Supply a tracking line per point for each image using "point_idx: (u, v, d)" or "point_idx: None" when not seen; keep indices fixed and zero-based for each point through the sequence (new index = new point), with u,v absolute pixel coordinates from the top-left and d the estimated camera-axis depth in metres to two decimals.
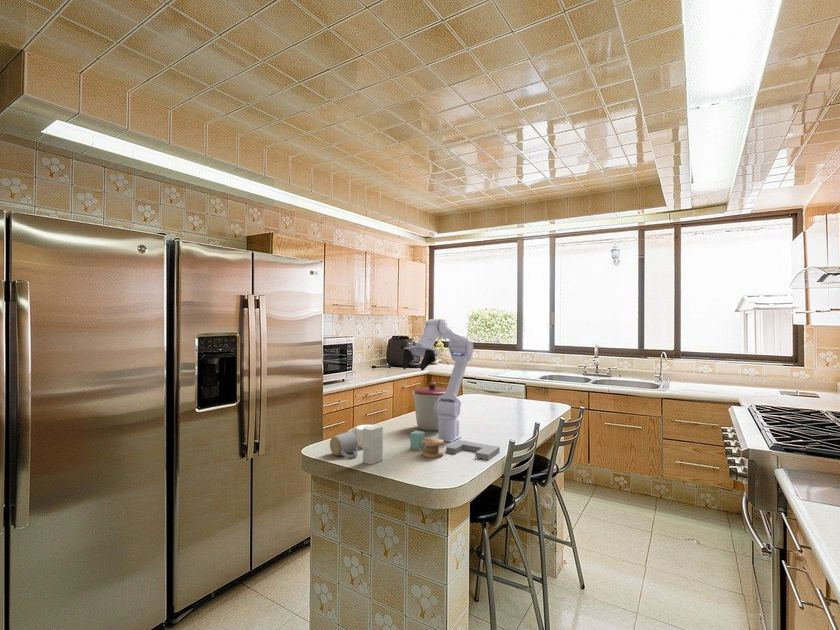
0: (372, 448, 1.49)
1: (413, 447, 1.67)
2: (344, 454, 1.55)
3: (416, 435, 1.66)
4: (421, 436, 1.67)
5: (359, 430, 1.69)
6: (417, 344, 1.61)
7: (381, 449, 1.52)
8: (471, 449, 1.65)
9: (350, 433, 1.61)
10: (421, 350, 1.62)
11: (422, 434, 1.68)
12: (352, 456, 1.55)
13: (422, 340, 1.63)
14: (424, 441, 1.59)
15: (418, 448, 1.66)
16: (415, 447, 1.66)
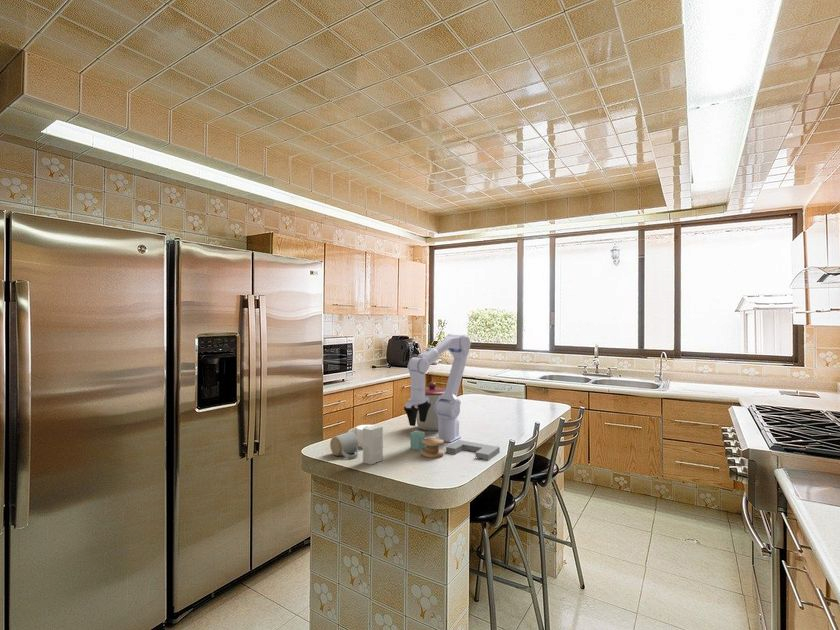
0: (372, 448, 1.49)
1: (413, 447, 1.67)
2: (345, 454, 1.55)
3: (416, 435, 1.66)
4: (421, 436, 1.67)
5: (359, 430, 1.69)
6: None
7: (381, 449, 1.52)
8: (471, 449, 1.65)
9: (351, 433, 1.61)
10: None
11: (422, 434, 1.68)
12: (353, 456, 1.55)
13: None
14: (424, 441, 1.59)
15: (418, 448, 1.66)
16: (415, 447, 1.66)
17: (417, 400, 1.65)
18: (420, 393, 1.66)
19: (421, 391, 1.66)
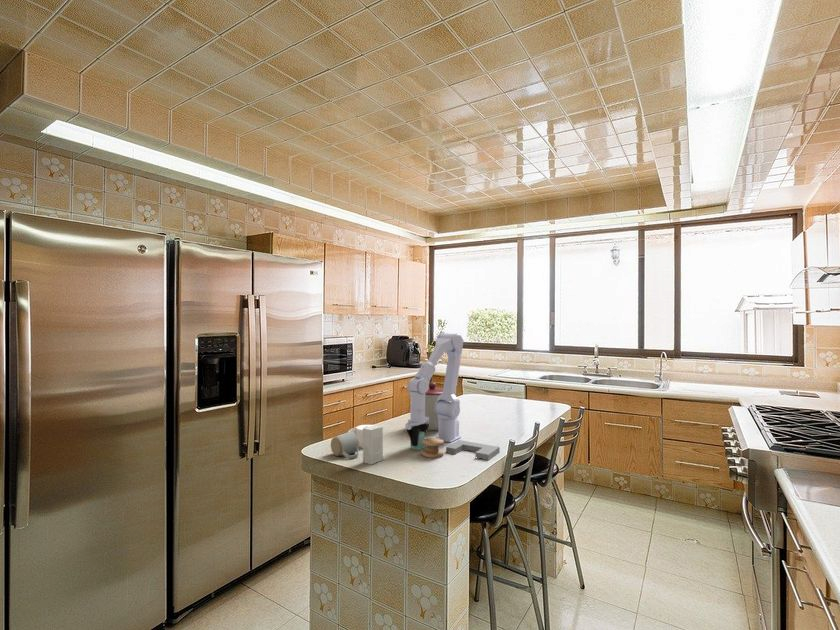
0: (372, 448, 1.49)
1: (413, 447, 1.67)
2: (345, 454, 1.54)
3: None
4: (421, 436, 1.67)
5: (359, 430, 1.69)
6: None
7: (381, 449, 1.52)
8: (471, 449, 1.65)
9: (351, 433, 1.61)
10: None
11: (422, 434, 1.68)
12: (353, 456, 1.55)
13: None
14: (424, 441, 1.59)
15: (418, 448, 1.66)
16: (415, 447, 1.66)
17: (417, 421, 1.65)
18: (420, 414, 1.66)
19: (421, 412, 1.66)
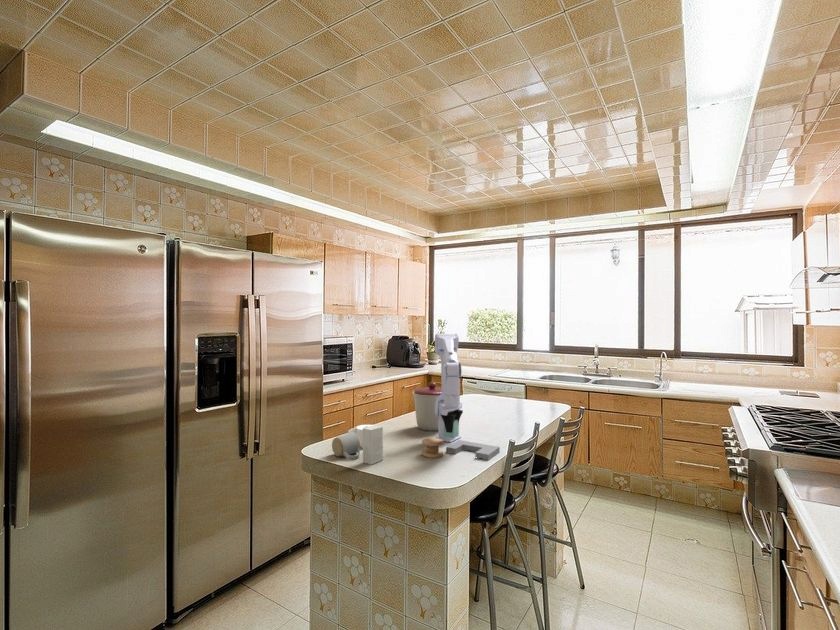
0: (372, 448, 1.49)
1: (447, 435, 1.61)
2: (346, 455, 1.54)
3: None
4: (455, 424, 1.61)
5: (359, 430, 1.69)
6: None
7: (381, 449, 1.52)
8: (471, 449, 1.65)
9: (352, 434, 1.60)
10: None
11: (456, 422, 1.62)
12: (354, 457, 1.54)
13: None
14: (424, 441, 1.59)
15: (452, 436, 1.60)
16: (449, 435, 1.60)
17: (452, 407, 1.59)
18: (455, 399, 1.59)
19: (456, 397, 1.60)
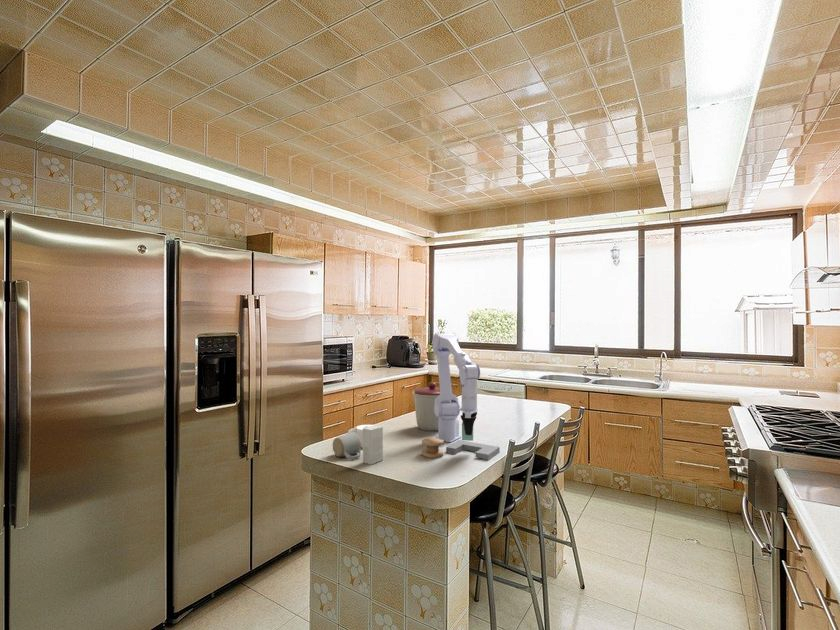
0: (372, 448, 1.49)
1: (465, 438, 1.59)
2: (347, 455, 1.53)
3: None
4: None
5: (359, 430, 1.69)
6: None
7: (381, 449, 1.52)
8: (471, 449, 1.65)
9: (353, 434, 1.60)
10: None
11: None
12: (355, 457, 1.54)
13: None
14: (424, 441, 1.59)
15: (471, 439, 1.59)
16: (468, 438, 1.59)
17: (472, 409, 1.59)
18: (475, 401, 1.59)
19: (475, 399, 1.60)
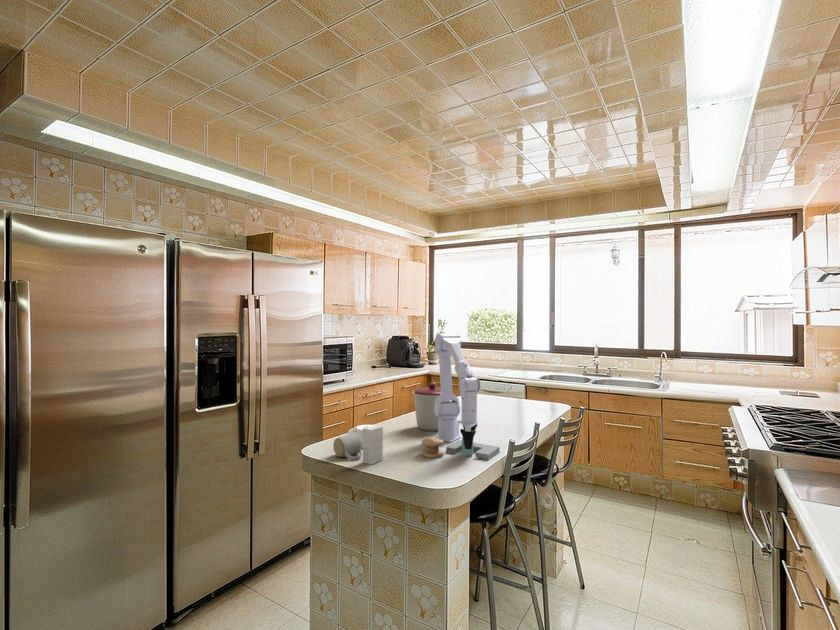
0: (372, 448, 1.49)
1: (465, 453, 1.59)
2: (348, 456, 1.53)
3: None
4: None
5: (359, 430, 1.69)
6: None
7: (381, 449, 1.52)
8: None
9: (354, 434, 1.59)
10: None
11: (473, 439, 1.61)
12: (356, 458, 1.53)
13: (461, 414, 1.62)
14: (424, 441, 1.59)
15: (471, 454, 1.59)
16: (468, 453, 1.59)
17: (472, 422, 1.59)
18: (474, 414, 1.59)
19: (475, 412, 1.60)
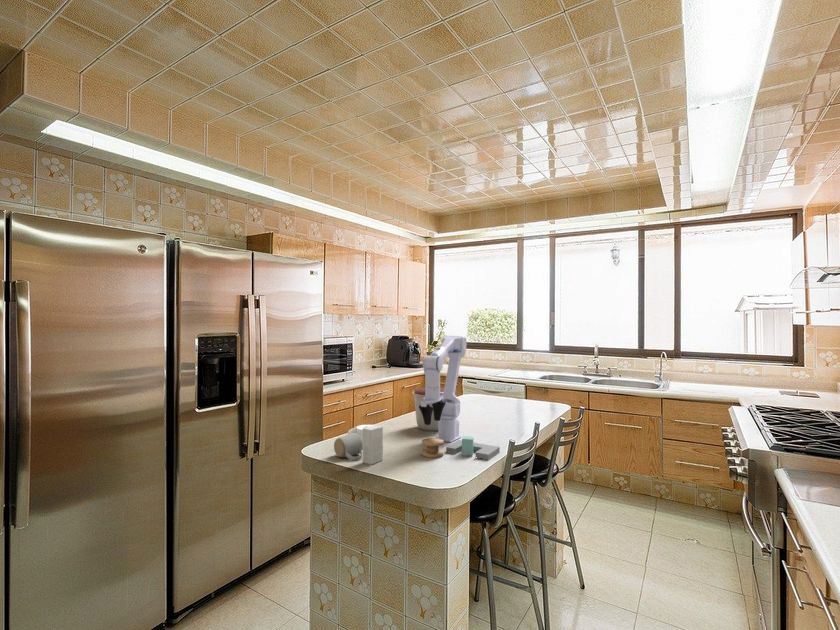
0: (372, 448, 1.49)
1: (465, 453, 1.59)
2: (348, 456, 1.53)
3: (469, 440, 1.59)
4: None
5: (359, 430, 1.69)
6: None
7: (381, 449, 1.52)
8: None
9: (354, 435, 1.59)
10: None
11: (473, 439, 1.61)
12: (357, 458, 1.53)
13: None
14: (424, 441, 1.59)
15: (471, 454, 1.59)
16: (468, 453, 1.59)
17: (432, 399, 1.63)
18: (435, 392, 1.63)
19: (436, 389, 1.64)
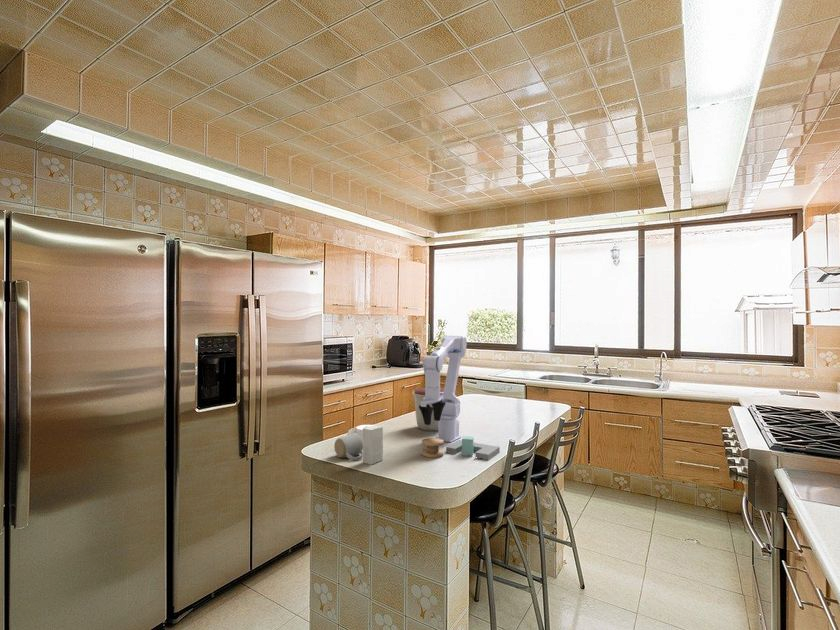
0: (372, 448, 1.49)
1: (465, 453, 1.59)
2: (349, 456, 1.52)
3: (469, 440, 1.59)
4: None
5: (359, 430, 1.69)
6: None
7: (381, 449, 1.52)
8: None
9: (355, 435, 1.59)
10: None
11: (473, 439, 1.61)
12: (357, 458, 1.53)
13: None
14: (424, 441, 1.59)
15: (471, 454, 1.59)
16: (468, 453, 1.59)
17: (432, 399, 1.63)
18: (435, 392, 1.63)
19: (436, 389, 1.64)
